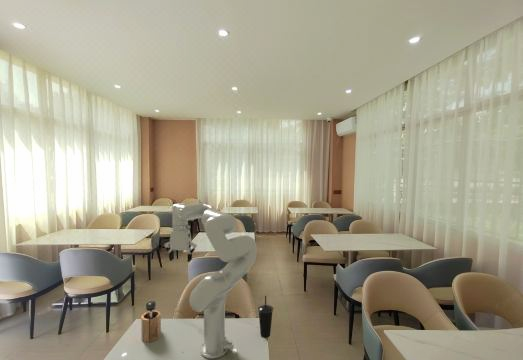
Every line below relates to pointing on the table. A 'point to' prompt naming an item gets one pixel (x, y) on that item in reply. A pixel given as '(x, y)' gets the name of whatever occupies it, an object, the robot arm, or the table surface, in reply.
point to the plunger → (150, 307)
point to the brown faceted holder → (150, 326)
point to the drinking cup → (265, 319)
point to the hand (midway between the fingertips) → (180, 260)
